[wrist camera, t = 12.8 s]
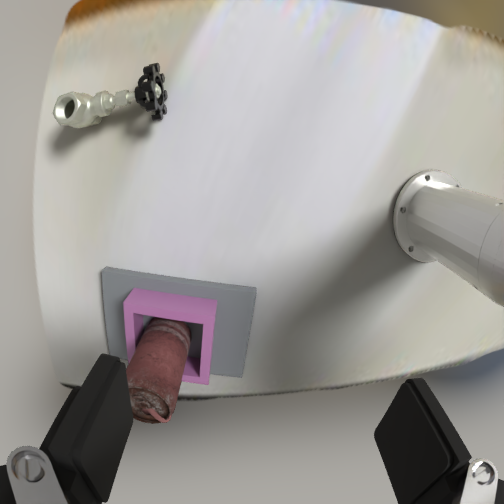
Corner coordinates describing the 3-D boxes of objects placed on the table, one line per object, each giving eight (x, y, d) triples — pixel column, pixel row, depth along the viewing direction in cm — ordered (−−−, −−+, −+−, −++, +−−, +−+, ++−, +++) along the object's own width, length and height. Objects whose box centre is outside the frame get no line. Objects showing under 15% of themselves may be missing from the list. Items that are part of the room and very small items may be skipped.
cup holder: (256, 287, 39) (257, 309, 33) (241, 371, 43) (241, 396, 38) (106, 266, 37) (88, 283, 32) (113, 350, 42) (100, 372, 36)
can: (179, 357, 40) (158, 434, 27) (140, 333, 39) (106, 405, 26) (202, 330, 39) (187, 409, 26) (162, 303, 37) (128, 376, 24)
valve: (80, 141, 32) (169, 121, 32) (52, 142, 26) (153, 116, 26) (78, 92, 30) (165, 69, 30) (50, 86, 24) (149, 54, 23)
